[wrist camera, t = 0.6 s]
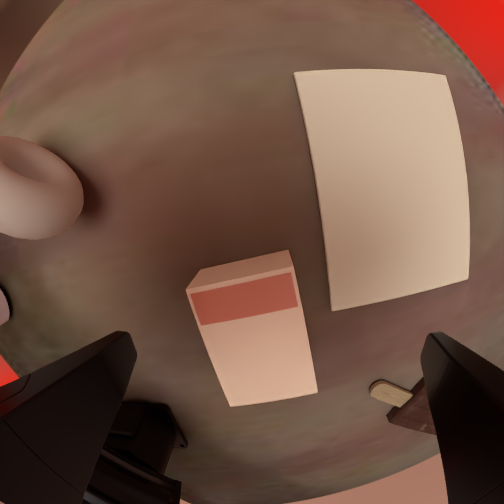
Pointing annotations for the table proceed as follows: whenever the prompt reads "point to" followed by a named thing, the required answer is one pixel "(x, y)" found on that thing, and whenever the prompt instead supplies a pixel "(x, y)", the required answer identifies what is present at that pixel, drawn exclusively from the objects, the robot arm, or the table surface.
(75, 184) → the donut
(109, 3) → the table surface
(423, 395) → the ice cream bar
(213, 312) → the card deck
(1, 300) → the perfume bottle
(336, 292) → the mat
